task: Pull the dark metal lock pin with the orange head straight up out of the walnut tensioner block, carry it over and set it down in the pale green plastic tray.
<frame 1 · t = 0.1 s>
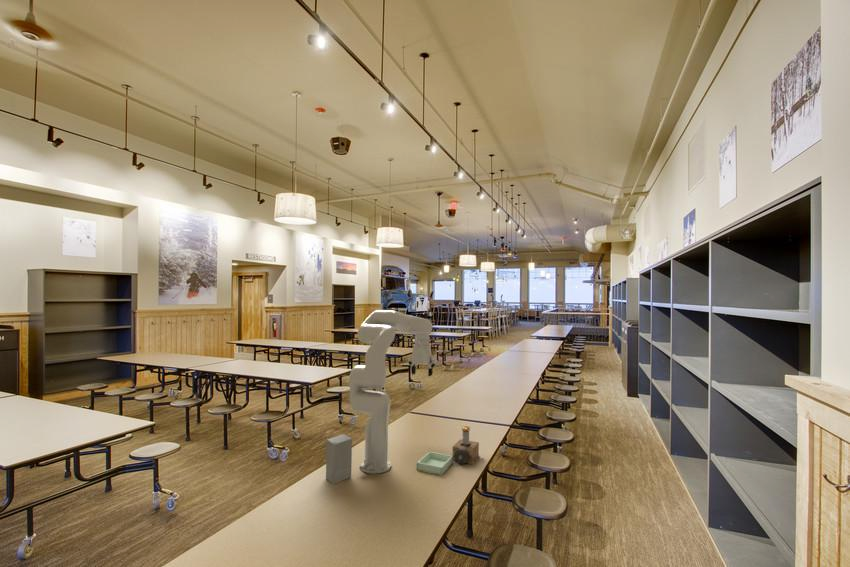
hand: (421, 374, 204), 31 cm above the table, fingers open, 9 cm apart
tensioner block: (465, 458, 172), on the table
tray: (435, 466, 163), on the table
skincare box: (338, 479, 151), on the table
lock pin: (465, 442, 173), in the tensioner block
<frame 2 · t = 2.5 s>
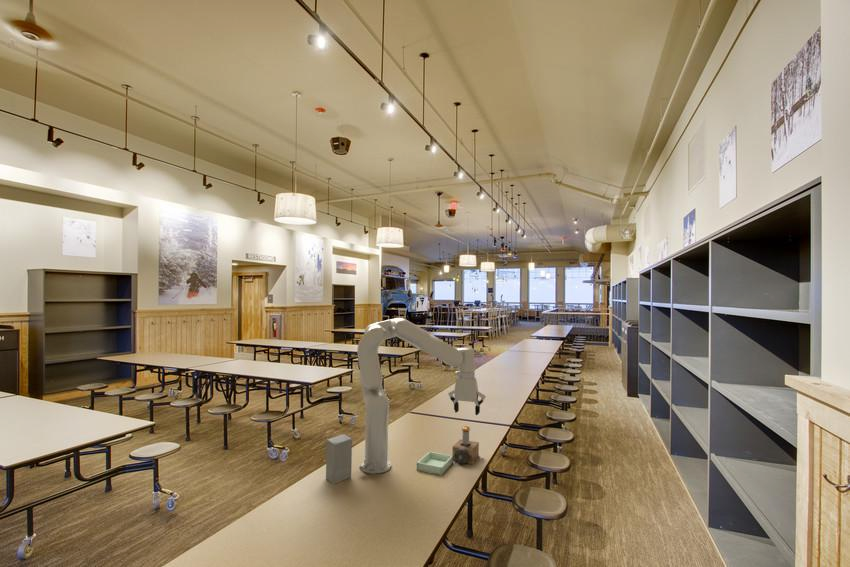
hand: (466, 413, 173), 20 cm above the table, fingers open, 9 cm apart
nothing on the table moved.
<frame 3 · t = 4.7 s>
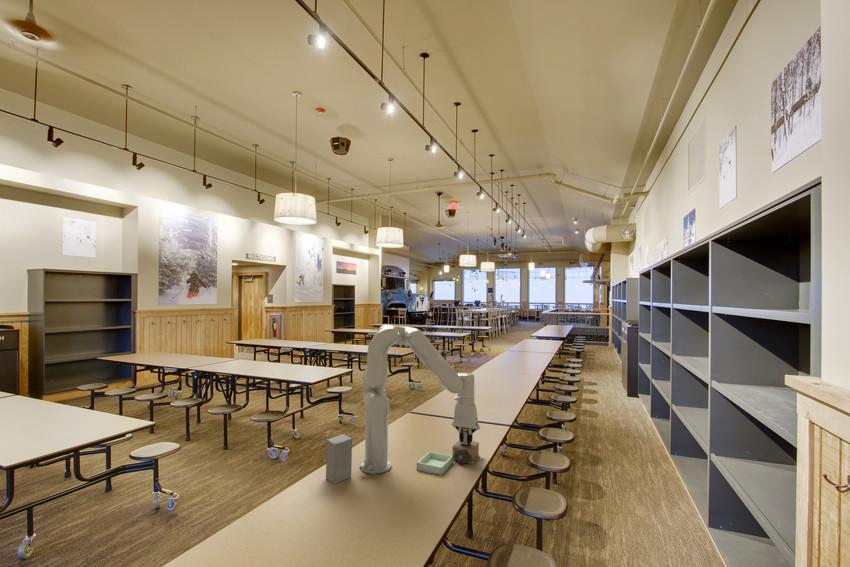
hand: (465, 441, 173), 7 cm above the table, fingers closed on lock pin, 3 cm apart
lock pin: (465, 442, 173), in the tensioner block, touching gripper
everything else where it was.
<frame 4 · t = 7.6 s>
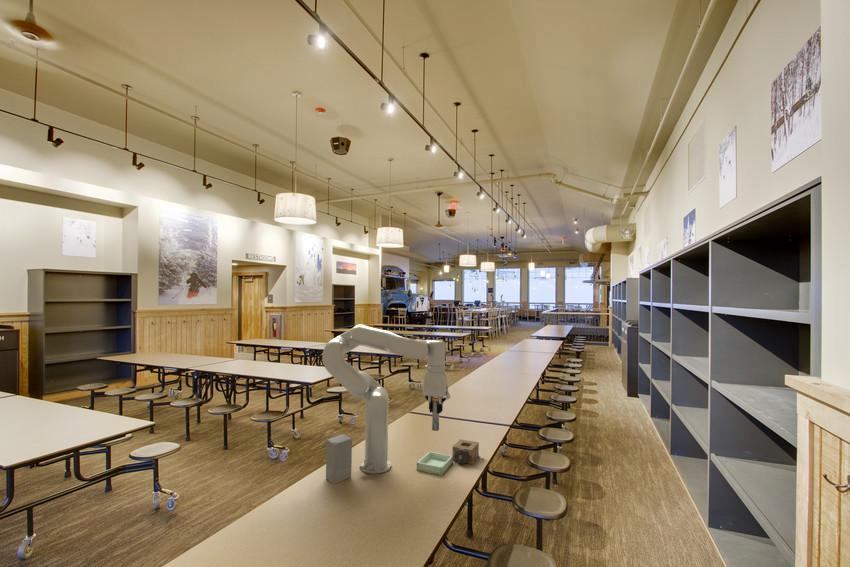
hand: (435, 411, 165), 23 cm above the table, fingers closed on lock pin, 3 cm apart
lock pin: (435, 413, 164), point 22 cm above the table, touching gripper
everything else where it was.
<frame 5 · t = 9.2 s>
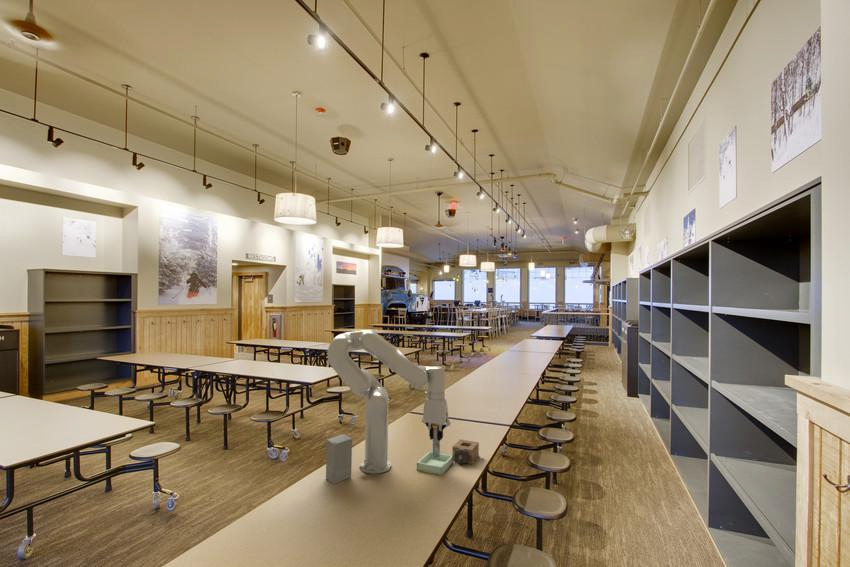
hand: (436, 438, 164), 12 cm above the table, fingers closed on lock pin, 3 cm apart
lock pin: (436, 440, 164), point 11 cm above the table, touching gripper
everything else where it was.
when the fingers open (9 cm above the table, at t = 10.4 s): lock pin stays where it is, resting on tray.
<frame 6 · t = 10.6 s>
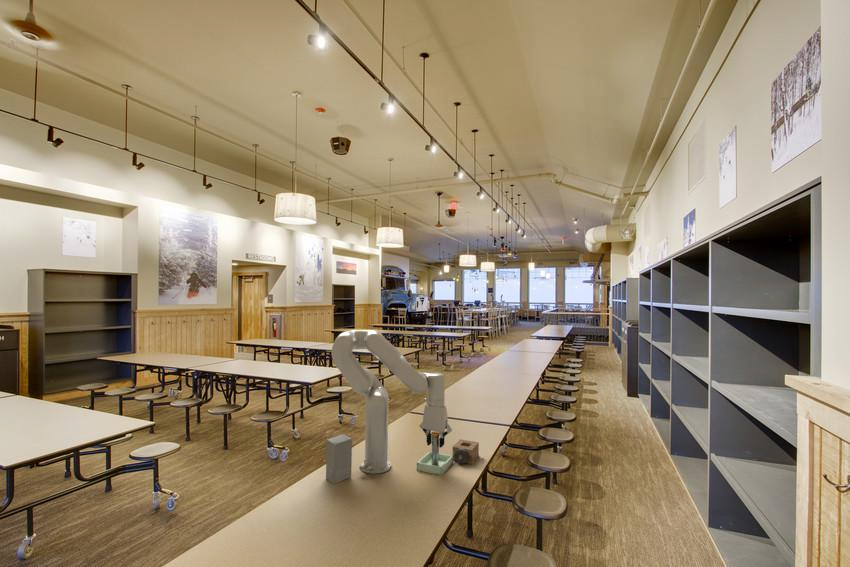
hand: (435, 445, 164), 9 cm above the table, fingers open, 4 cm apart
lock pin: (435, 448, 164), in the tray, point 7 cm above the table
everything else where it was.
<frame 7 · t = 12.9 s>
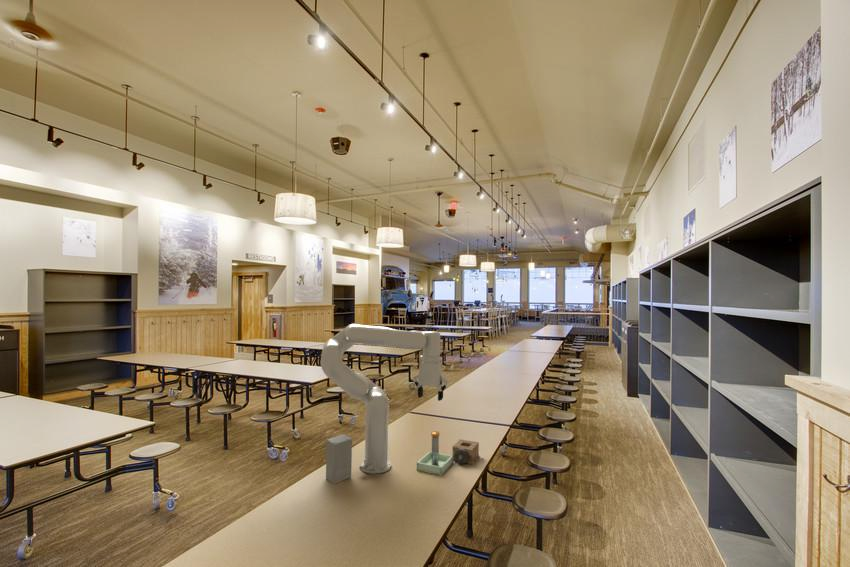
hand: (430, 398, 168), 28 cm above the table, fingers open, 9 cm apart
nothing on the table moved.
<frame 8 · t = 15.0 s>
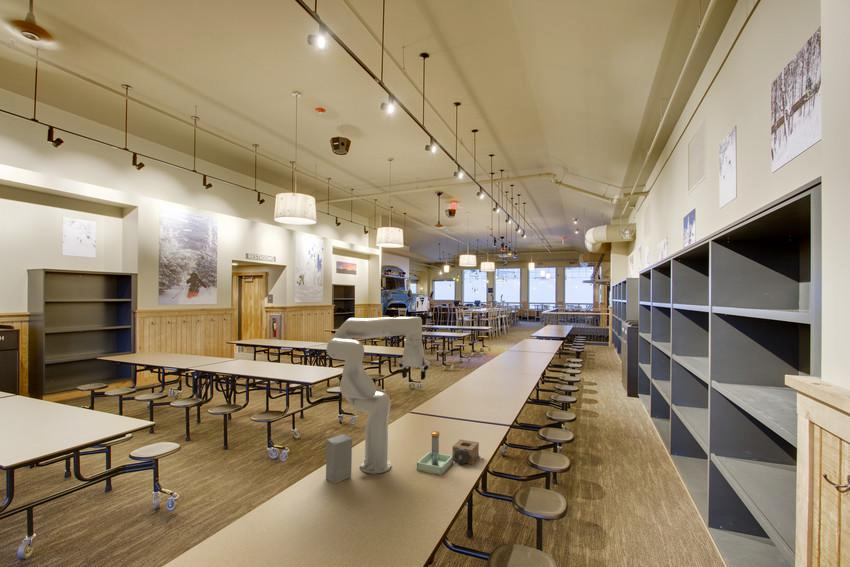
hand: (413, 378, 184), 33 cm above the table, fingers open, 9 cm apart
nothing on the table moved.
at the end: lock pin inside the target area on the tray (0.1 cm from its centre), point 7.4 cm above the tray's base; the gripper is holding nothing; lock pin touching tray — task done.
